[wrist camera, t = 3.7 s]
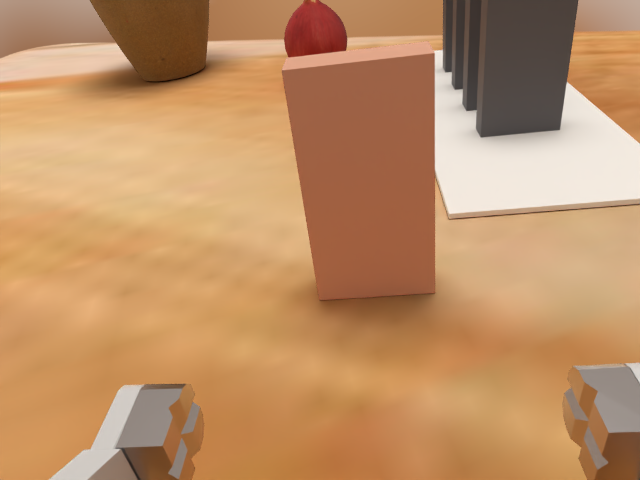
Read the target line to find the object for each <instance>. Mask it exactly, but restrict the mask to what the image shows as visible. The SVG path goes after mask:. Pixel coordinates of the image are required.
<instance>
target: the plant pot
mask: <svg viewBox="0 0 640 480" xmlns="http://www.w3.org/2000/svg"><path fill="white" fill-rule="evenodd" d="M90 2H91V3H92V5H93V7H94V9H95V10H96V12H97V13H98V15H99V17H100V18H101V20H102V22H103V23H104V25H105V26H106V28H107V29H108V31H109V32H110V34H111V35H112V37H113V38H114V40H115V41H116V43H117V44H118V46H119V47H120V49H121V50H122V52H123V53H124V54H125V56H126V57H127V59H128V60H129V61H130V63H131V64H132V65H133V67H134V68H135V69H136V71H137V72H138V73H139V75H140V76H141V77H142V78H143V79H144V80H146V81H166V80H172V79H177V78H181V77H185V76H188V75H191V74H194V73H196V72H198V71H200V70H202V69H203V68H204V67H205V62H206V53H207V41H208V23H209V0H90Z"/></svg>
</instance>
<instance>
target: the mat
mask: <svg viewBox="0 0 640 480" xmlns="http://www.w3.org/2000/svg"><path fill="white" fill-rule="evenodd" d="M434 52H435V175H436V179H437V182H438V185H439V188H440V192H441V195H442V198H443V201H444V204H445V208H446V211H447V214H448V217H449V219H453V218H466V217H478V216H491V215H503V214H516V213H529V212H541V211H554V210H567V209H579V208H592V207H605V206H617V205H630V204H640V144H639V143H638V142H637V141H636V140H635V139H633V138H632V137H631V136H630V135H629V134H628V133H626V132H625V131H624V130H623V129H622V128H620V127H619V126H618V125H617V124H616V123H615V122H613V121H612V120H611V119H610V118H609V117H608V116H606V115H605V114H604V113H603V112H602V111H601V110H599V109H598V108H597V107H596V106H595V105H593V104H592V103H591V102H590V101H589V100H588V99H586V98H585V97H584V96H583V95H582V94H581V93H579V92H578V91H577V90H576V89H575V88H574V87H572V86H571V85H570V84H569V83H568V82H567V84H566V91H565V98H564V105H563V112H562V119H561V126H560V130H555V131H544V132H534V133H523V134H513V135H502V136H492V137H480V135H479V134H478V132H477V130H476V112H477V110H473V111H466V110H465V108H464V106H463V104H462V99H463V89H459V90H455V89H454V88H453V86H452V72H446V73H445V71H444V69H443V50H437V51H434Z"/></svg>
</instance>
